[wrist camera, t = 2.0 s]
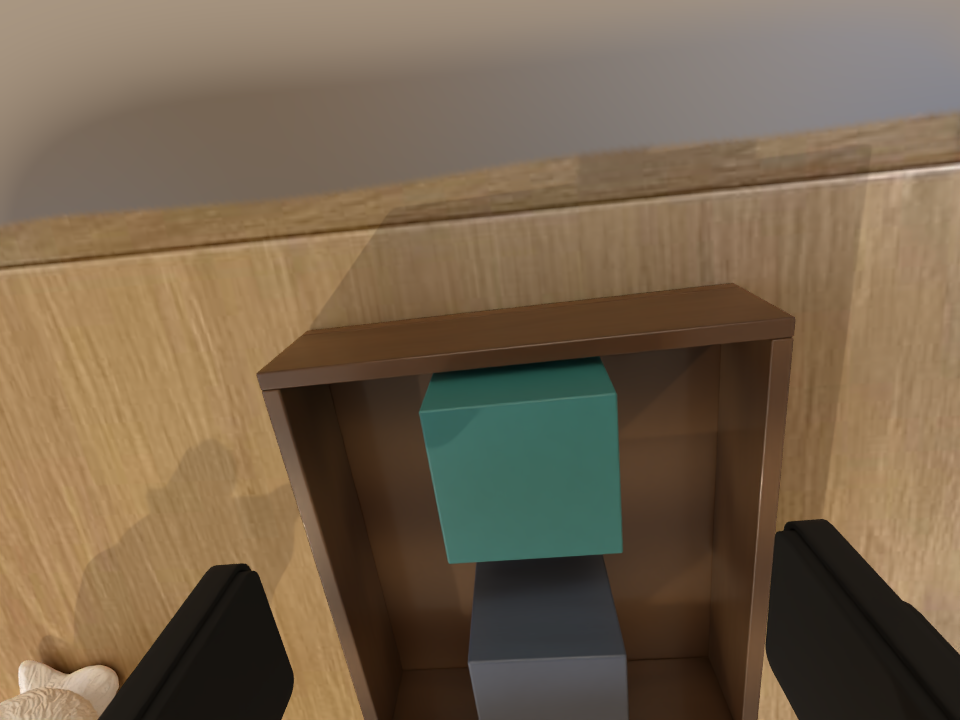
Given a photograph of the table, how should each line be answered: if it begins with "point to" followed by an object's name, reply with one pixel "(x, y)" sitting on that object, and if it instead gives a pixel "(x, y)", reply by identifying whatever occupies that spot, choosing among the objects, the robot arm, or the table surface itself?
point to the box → (643, 476)
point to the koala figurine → (60, 693)
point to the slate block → (547, 641)
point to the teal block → (525, 460)
